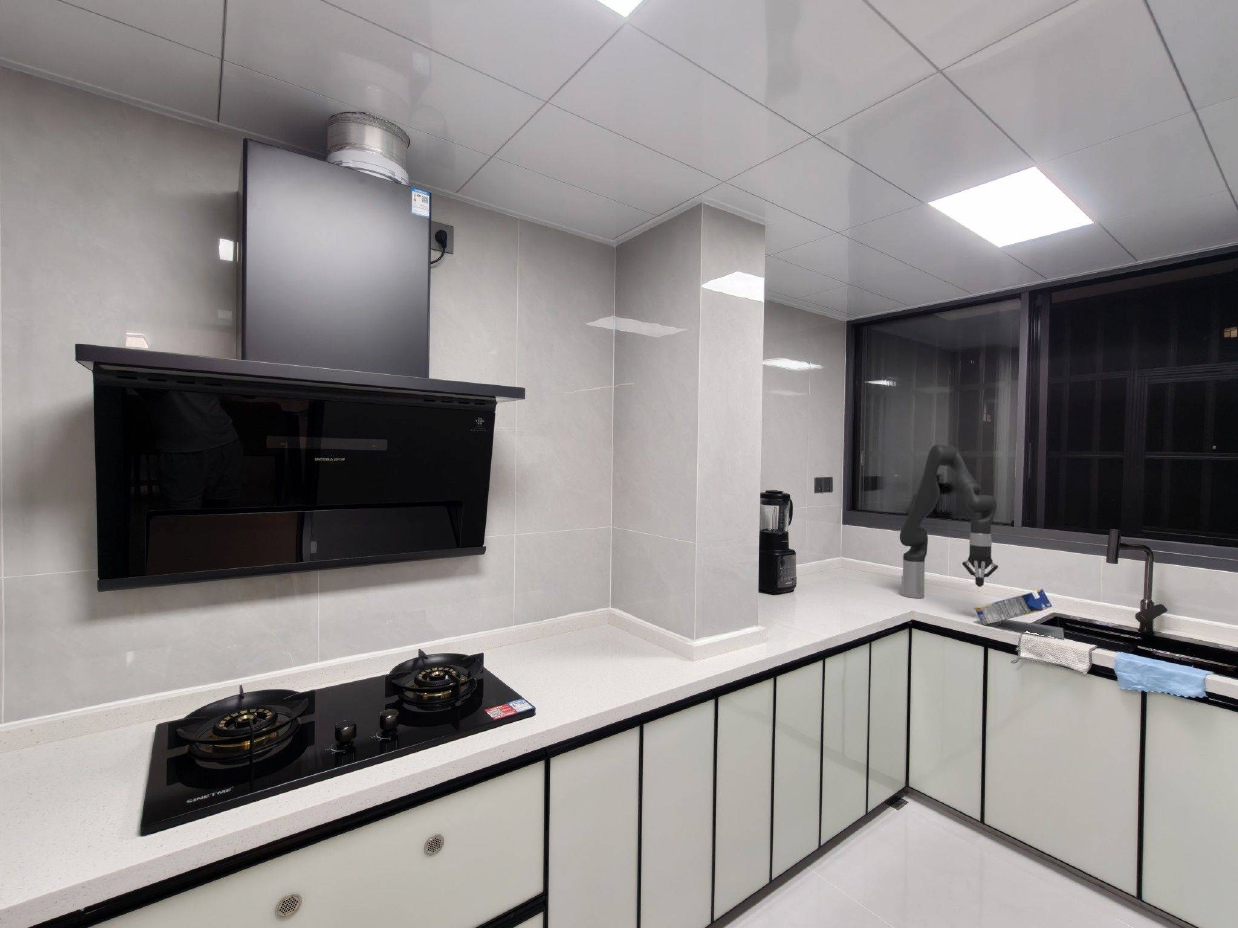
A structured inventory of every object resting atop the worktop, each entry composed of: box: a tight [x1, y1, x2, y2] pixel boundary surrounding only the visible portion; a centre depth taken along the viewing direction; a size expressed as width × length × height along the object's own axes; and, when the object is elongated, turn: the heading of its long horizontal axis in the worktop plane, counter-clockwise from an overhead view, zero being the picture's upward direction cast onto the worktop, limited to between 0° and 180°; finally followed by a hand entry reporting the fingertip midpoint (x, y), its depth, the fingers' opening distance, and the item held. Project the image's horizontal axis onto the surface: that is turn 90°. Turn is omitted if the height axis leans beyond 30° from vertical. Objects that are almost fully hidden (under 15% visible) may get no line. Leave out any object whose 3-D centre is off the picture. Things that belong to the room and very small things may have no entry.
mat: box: [998, 619, 1065, 641], centre depth 219 cm, size 20×16×1 cm
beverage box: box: [974, 588, 1053, 626], centre depth 220 cm, size 7×11×22 cm
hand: (979, 586), depth 229 cm, fingers closed
